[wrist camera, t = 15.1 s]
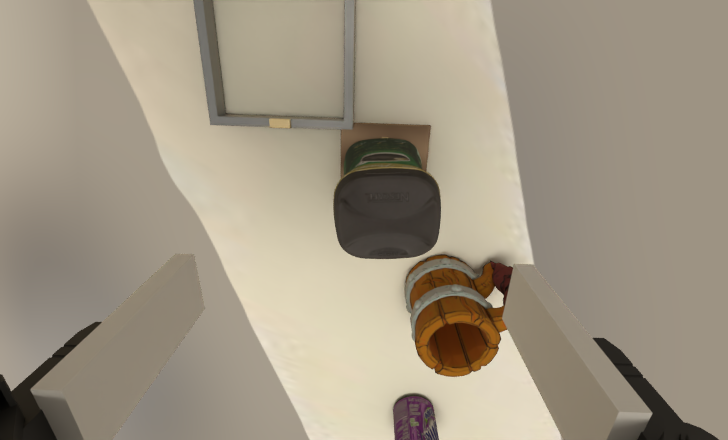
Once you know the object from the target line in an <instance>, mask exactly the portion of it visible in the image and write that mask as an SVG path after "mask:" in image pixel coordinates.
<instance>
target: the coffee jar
mask: <svg viewBox="0 0 728 440" xmlns="http://www.w3.org/2000/svg"><path fill="white" fill-rule="evenodd" d="M333 209H334V220H335V227H336V232H337V237H338V241H339V243H340V245H341V247H342V248H343V250H345V251H346V252H347V253H349V254H350V255H352V256H355V257H359V258H366V259H368V258H369V259H396V258H410V257H416V256H420V255H422V254H425V253H426V252H428V251H429V250H431V249H432V248H433V247H434V245H435V244H436V242H437V239H438V235H439V229H440V218H441V200H440V190H439V187H438V184H437V182H436V180H435V179H434V178H433V177H432V176H431V175H430V174H429V173H428V172H426V171H425V170H423V169H422V163H421V158H420V155H419V152H418V150H417V148H416V147H415V146H414V145H413V144H412V143H411V142H409V141H407V140H403V139H393V138H377V139H367V140H362V141H358V142H356V143H354V144H353V145H351V146H350V147H349V149H348V150H347V152H346V155H345V160H344V176H343V177H342V178H341V180H340V181H339V182H338V184H337V186H336V188H335V192H334V199H333Z"/></svg>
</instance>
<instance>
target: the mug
mask: <svg viewBox="0 0 728 440" xmlns="http://www.w3.org/2000/svg"><path fill="white" fill-rule="evenodd" d="M512 271H513V268H512V267H510V266H509V267H508V266H505V265H503V264H501V263H494V262H492V261H490V263H488V264H486V265H485V266H484V267H483V273H482V275H481V277H479V276H478V275H477V274H475V273H474V272H473V271H472V269H471V268H470V267H469V266H468V265H467V264H466V263H464V262H462V261H460V260H459V259H458V258H455V257H450V258H449V257H448V256H446V255H437V256H433V257H430V258H427V259H426V262H424V261H420V262H419V263H418V264H416V265H415V266H414V267H413V268H412V269H411V271H410V272H409V274H408V276H407V278H406V286H405V299H406V303H407V306H406V309H407V311H408V312H409V313H411V318H410V320H411V328H412V339H413V340H414V341H415V345H416V350H417V353H418V356H419V357H420V358H421V360H422V361H423V362H424V363H425V364H426V366H428V367H429V368H431V369H435V373H437V374H440V375H444V376H450V377H456V376H464V375H467V374H470V373H471V372H472V371H474V372H475V371H478V370H480V369H481V366H486V365H487V364H488V363H490V362H491V361H492V359H493V358H494V357H495V355H496V354H497V352H498V349H499V347H498V344H499V343H500V340H501V337H500V334H499V333H500V332H502V331H505V330H507V327H506V325H505V323H504V321H503V319H502V317H503V312H504V308H505V303H506V299H507V294H508V289H509V285H510V280H511V276H512ZM495 286H496V288H497V289H498V290H499V291H500V292H501V293H502V294H503V295H504V298H503V304H504V306H502V307H499V308H493V307H492V305H491V304H490V303H489V302H487V301H486V300H485V298H487V297H488V296H489V295H490V294H491V292H492V291H493V289H494V287H495Z"/></svg>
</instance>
